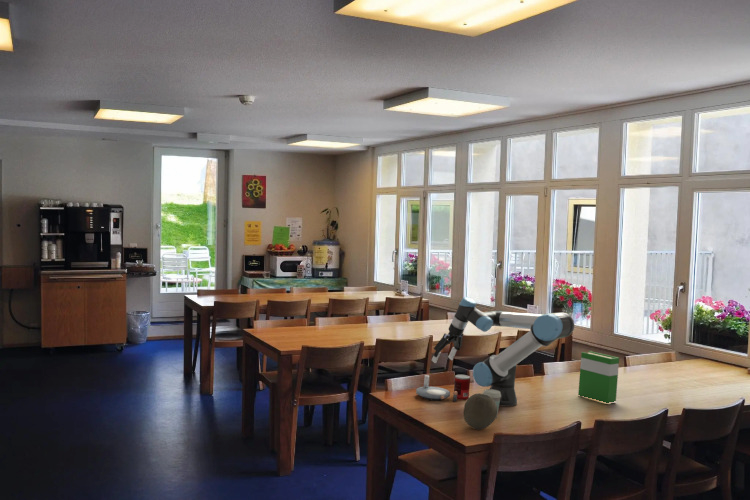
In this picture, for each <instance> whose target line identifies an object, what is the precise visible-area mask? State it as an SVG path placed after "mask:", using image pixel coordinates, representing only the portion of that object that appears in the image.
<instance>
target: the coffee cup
mask: <svg viewBox="0 0 750 500" xmlns="http://www.w3.org/2000/svg"><path fill="white" fill-rule="evenodd" d="M482 394H484V395H488V396H490V397H491V398H492V399H493V400H494V401H495V403H496V405H497V415H496V418H495V419H497V418H498V414H499V413H498V412H499V407H500V406H499V403H500V397H501V393H500V391H498V390H493V389H490V388H487V389H484V390H483V392H482Z"/></svg>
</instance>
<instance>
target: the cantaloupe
mask: <svg viewBox="0 0 750 500" xmlns="http://www.w3.org/2000/svg"><path fill="white" fill-rule="evenodd" d="M462 413H463V417H464V422H465V423H466V424H467V425H468V426H469V427H470V428H473V430H476V429H477V431H481V430H484V429H486V428H488V427H489V426H490V425H491V424H493V422H494V421H495V419H497V418H496V415H497V416H498V413H497V405H496V403H495V401H494V400H493V399H492V398H491V397H490V396H488V395H484V394H483V393H475V394H474V393H473V394H472V395H469V397H468V399H466V400H465V402H464V407H463V412H462Z"/></svg>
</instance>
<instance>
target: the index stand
mask: <svg viewBox="0 0 750 500" xmlns="http://www.w3.org/2000/svg"><path fill="white" fill-rule="evenodd" d="M452 394H453V397H452V398H453V399H452V402H453V403H457V402H458V401H457V400H458V399H457V394H458V392H457V391H454V390H453V393H452ZM422 398H423V399H424V400H427V401H432V402H436V401H439V402H440V401H442V400H443V399H433V398H426V397H422Z"/></svg>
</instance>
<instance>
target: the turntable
mask: <svg viewBox="0 0 750 500" xmlns="http://www.w3.org/2000/svg"><path fill="white" fill-rule="evenodd" d="M429 385H430V375H427V374H425V375H424V380H423V386H420V387H417V388H416V389H415V391H416V392H415V394H416V395H418V396H419V397H422V398H423V397H426V398H433V399H442V400H444V399H447V398H449V397H450V396H451V392H450V391H451V390H448V389H446V388H443V387H438V386H429Z"/></svg>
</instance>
